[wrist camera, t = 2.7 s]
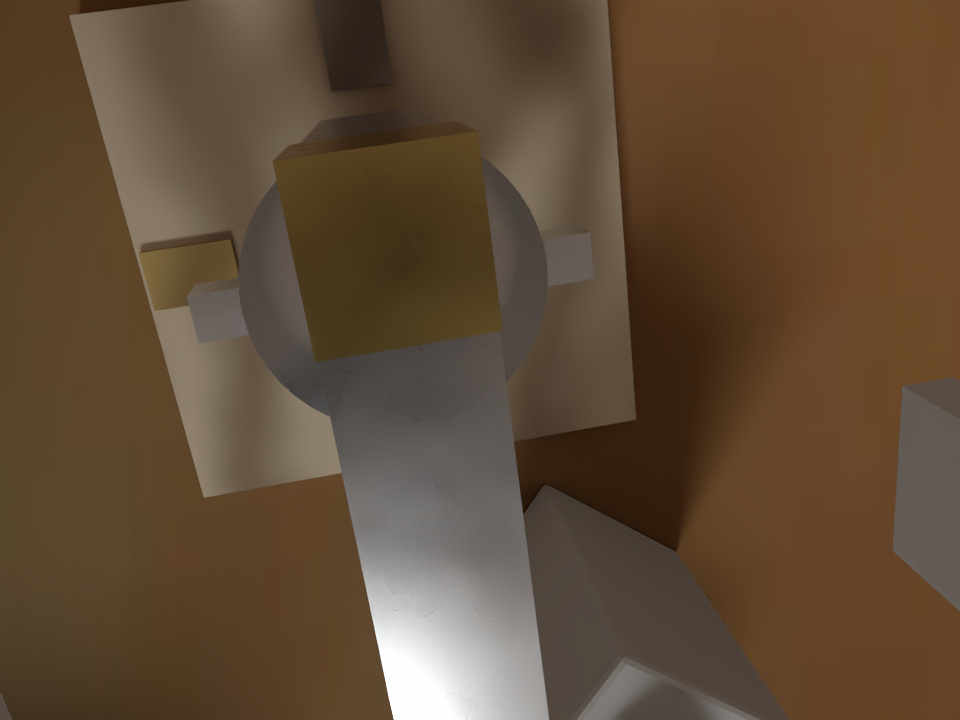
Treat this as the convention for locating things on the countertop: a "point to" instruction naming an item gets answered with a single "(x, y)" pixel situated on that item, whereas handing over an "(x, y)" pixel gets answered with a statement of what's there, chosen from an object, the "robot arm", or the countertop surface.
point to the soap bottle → (629, 625)
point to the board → (341, 93)
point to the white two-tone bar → (412, 383)
